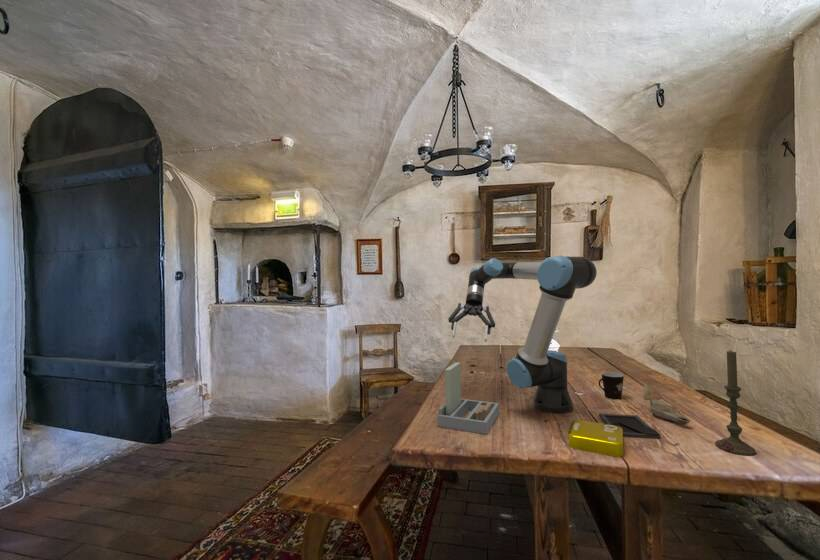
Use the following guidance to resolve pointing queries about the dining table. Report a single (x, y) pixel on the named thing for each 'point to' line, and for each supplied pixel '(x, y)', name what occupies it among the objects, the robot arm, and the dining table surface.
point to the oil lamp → (662, 407)
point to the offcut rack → (468, 417)
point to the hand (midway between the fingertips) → (469, 338)
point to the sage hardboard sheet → (453, 388)
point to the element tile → (596, 438)
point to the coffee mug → (612, 384)
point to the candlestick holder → (733, 413)
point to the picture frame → (631, 425)
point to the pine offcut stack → (482, 412)
